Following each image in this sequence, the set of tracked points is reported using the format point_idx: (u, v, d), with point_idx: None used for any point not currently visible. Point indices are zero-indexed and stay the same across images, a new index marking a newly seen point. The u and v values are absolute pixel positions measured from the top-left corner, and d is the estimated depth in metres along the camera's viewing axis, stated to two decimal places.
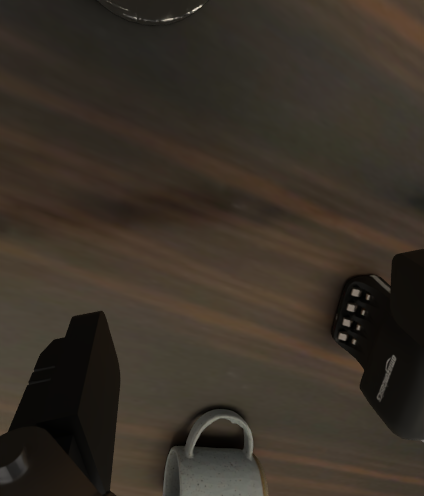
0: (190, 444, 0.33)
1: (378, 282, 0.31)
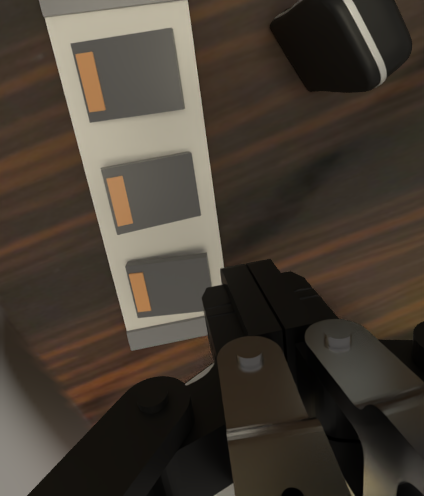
0: None
1: None
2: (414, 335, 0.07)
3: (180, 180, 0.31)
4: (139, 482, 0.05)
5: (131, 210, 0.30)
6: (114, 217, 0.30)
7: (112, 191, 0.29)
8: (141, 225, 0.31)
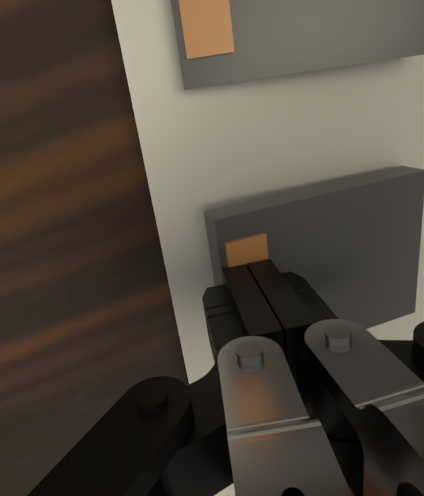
0: None
1: None
2: (414, 335, 0.07)
3: (390, 237, 0.12)
4: (139, 482, 0.05)
5: None
6: None
7: None
8: None
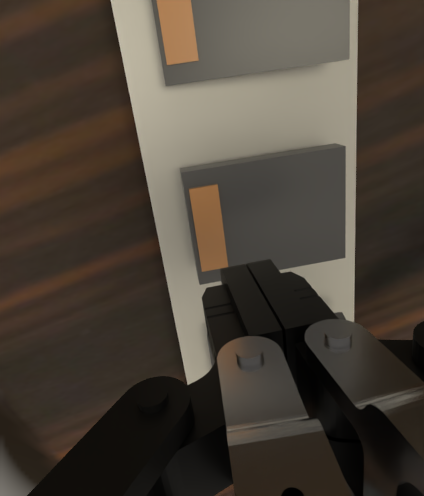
0: None
1: None
2: (414, 335, 0.07)
3: (318, 196, 0.17)
4: (139, 482, 0.05)
5: (227, 245, 0.17)
6: (197, 255, 0.17)
7: (197, 211, 0.16)
8: None
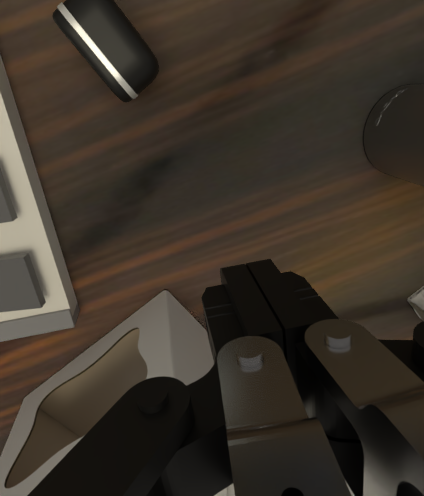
0: None
1: None
2: (414, 335, 0.07)
3: None
4: (139, 482, 0.05)
5: None
6: None
7: None
8: None
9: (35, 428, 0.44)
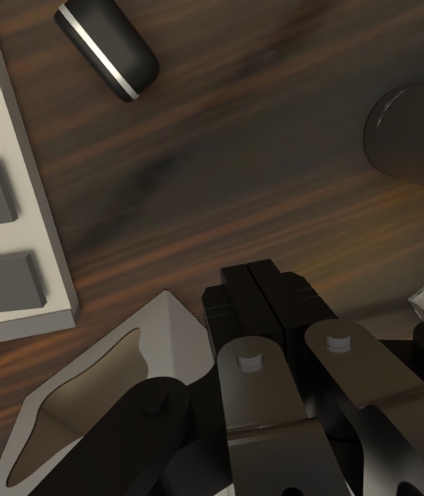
0: None
1: (138, 94, 0.34)
2: (414, 335, 0.07)
3: None
4: (139, 482, 0.05)
5: None
6: None
7: None
8: None
9: (36, 428, 0.44)
